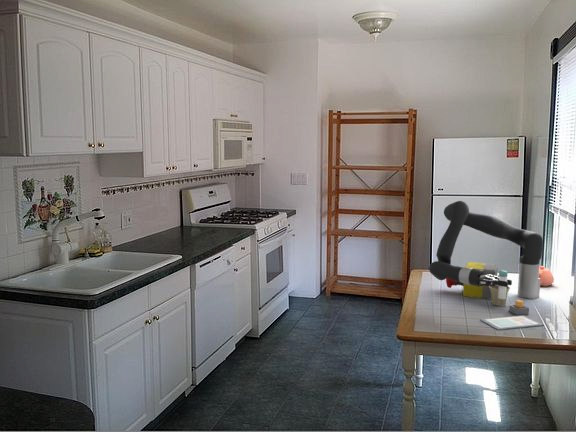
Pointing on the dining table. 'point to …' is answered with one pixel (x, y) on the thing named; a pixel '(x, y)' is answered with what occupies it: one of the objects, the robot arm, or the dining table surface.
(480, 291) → the emergency stop button
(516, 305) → the button
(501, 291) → the marker
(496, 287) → the flower pot
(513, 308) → the button housing
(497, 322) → the placemat
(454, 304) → the dining table surface
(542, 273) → the piggy bank
